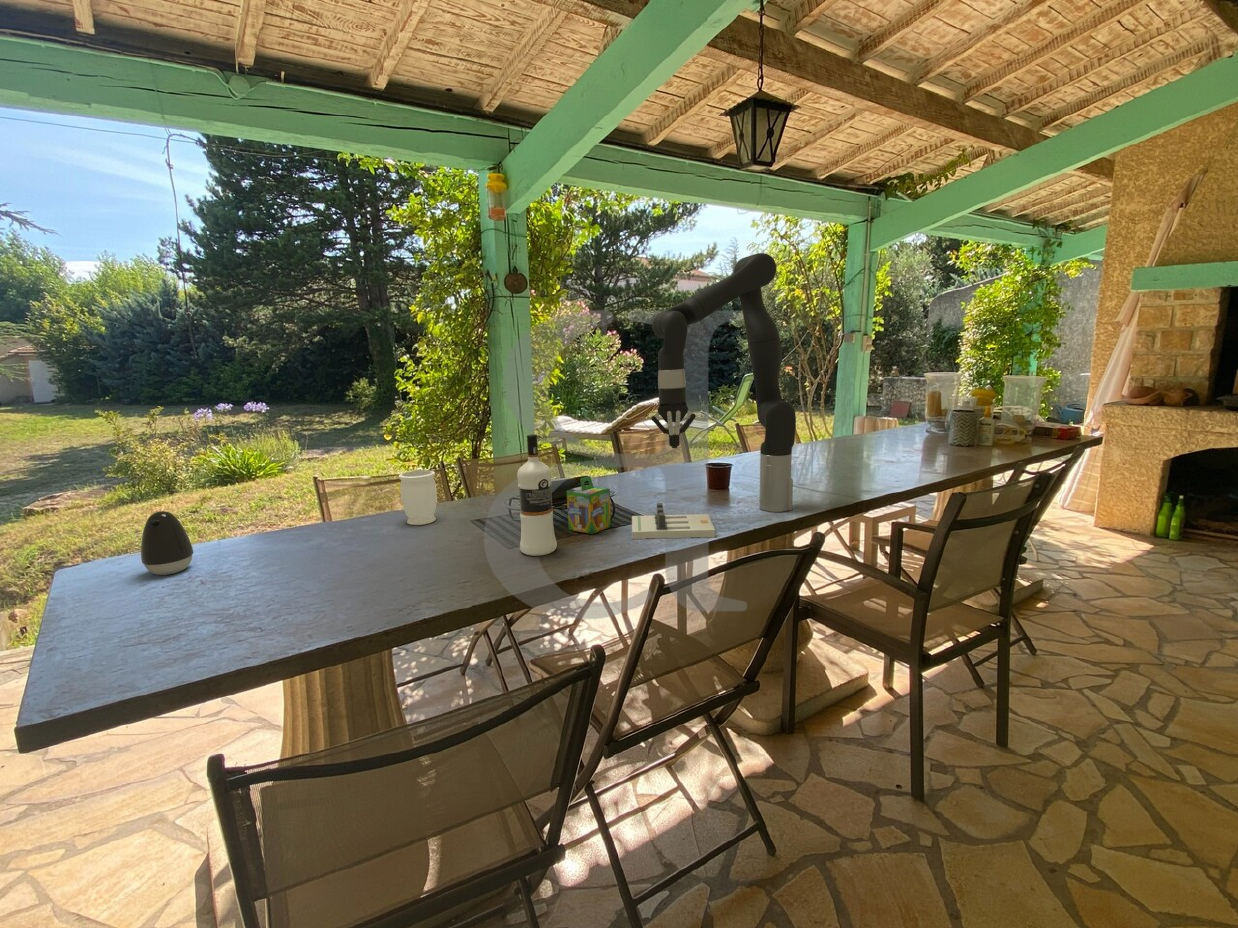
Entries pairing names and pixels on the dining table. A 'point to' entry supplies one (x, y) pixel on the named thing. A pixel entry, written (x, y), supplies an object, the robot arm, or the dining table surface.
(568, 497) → the chalk box
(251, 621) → the dining table surface
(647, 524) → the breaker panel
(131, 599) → the dining table surface
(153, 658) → the dining table surface
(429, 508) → the jar
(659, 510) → the handle
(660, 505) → the handle
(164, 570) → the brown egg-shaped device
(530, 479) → the vodka
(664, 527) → the handle
